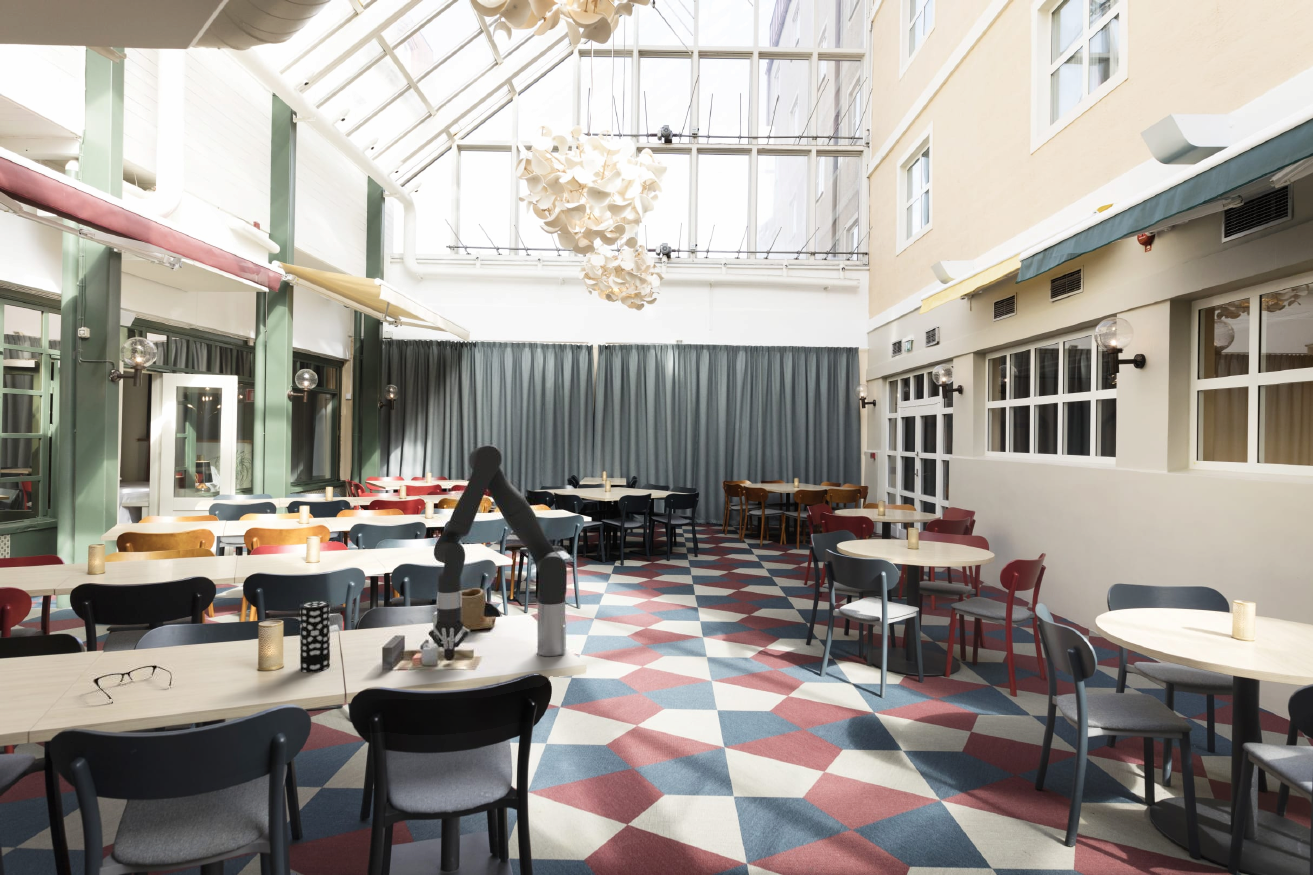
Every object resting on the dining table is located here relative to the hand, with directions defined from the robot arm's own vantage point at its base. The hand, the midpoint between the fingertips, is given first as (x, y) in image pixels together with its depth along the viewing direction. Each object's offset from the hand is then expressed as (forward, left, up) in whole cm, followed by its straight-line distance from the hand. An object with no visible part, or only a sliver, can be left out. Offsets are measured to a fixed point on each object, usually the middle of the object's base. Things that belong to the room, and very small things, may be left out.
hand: (449, 659), depth 218 cm
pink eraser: (+10, 0, -1) cm, 10 cm away
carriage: (+6, 0, -1) cm, 6 cm away
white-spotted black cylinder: (+42, -1, -3) cm, 42 cm away
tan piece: (+1, -41, -3) cm, 41 cm away
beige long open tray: (+5, 0, -3) cm, 5 cm away
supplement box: (+6, -20, -3) cm, 21 cm away
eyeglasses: (+86, +15, -3) cm, 87 cm away
